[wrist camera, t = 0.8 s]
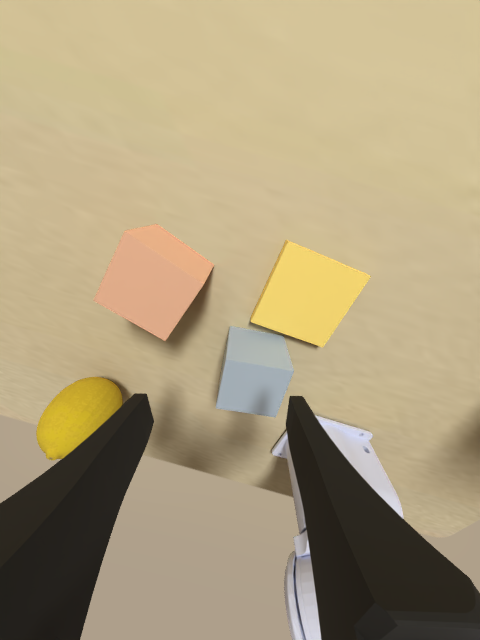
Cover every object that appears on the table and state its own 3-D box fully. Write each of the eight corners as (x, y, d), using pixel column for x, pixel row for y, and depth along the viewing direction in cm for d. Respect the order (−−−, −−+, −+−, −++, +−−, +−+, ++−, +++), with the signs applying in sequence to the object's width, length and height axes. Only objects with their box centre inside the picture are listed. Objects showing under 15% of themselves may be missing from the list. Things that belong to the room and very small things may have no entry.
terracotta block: (214, 264, 18) (203, 284, 13) (183, 310, 19) (165, 341, 15) (157, 224, 16) (124, 230, 12) (130, 277, 18) (93, 300, 14)
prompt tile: (365, 273, 18) (370, 276, 17) (320, 342, 21) (322, 347, 20) (286, 239, 16) (288, 241, 16) (250, 317, 20) (250, 321, 19)
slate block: (283, 335, 20) (293, 371, 16) (269, 375, 23) (275, 417, 18) (229, 325, 20) (225, 359, 16) (221, 367, 22) (215, 408, 18)
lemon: (99, 403, 25) (40, 482, 18) (71, 365, 22) (-9, 439, 15) (144, 396, 24) (102, 475, 17) (121, 356, 22) (61, 429, 15)
